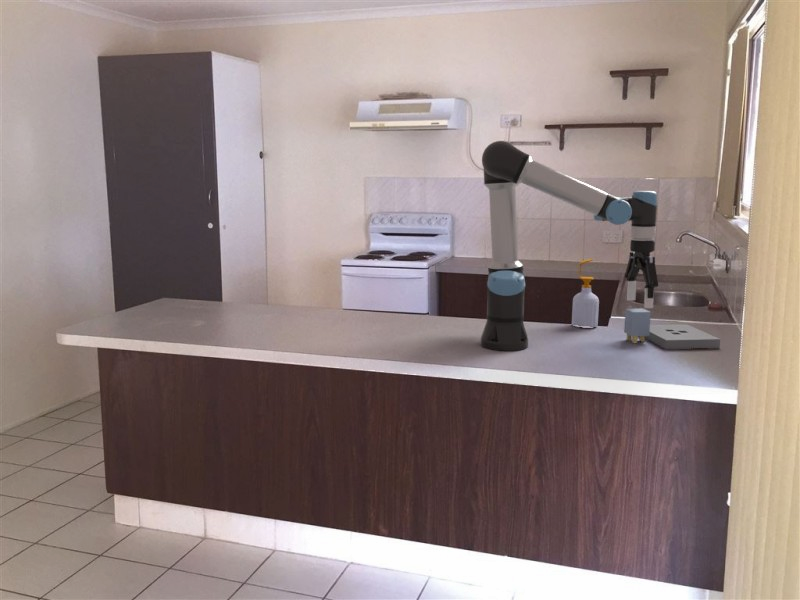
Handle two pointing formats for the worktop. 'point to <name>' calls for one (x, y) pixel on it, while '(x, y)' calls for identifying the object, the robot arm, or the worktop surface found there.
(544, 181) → the robot arm
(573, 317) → the soap bottle
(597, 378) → the worktop surface
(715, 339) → the socket plate
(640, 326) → the plug
